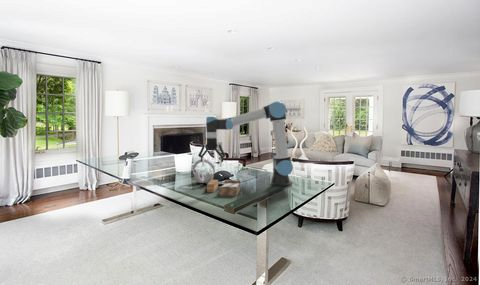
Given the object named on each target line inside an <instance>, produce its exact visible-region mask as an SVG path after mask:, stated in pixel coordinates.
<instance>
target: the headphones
mask: <svg viewBox="0 0 480 285" xmlns="http://www.w3.org/2000/svg"><path fill="white" fill-rule="evenodd" d="M199 163H202V162H201V159H198V160H197V161H196V162H194V164H193V166H192V173H193V176H194V180H195V182H196V183H198V184H202V183H204V184H208V183H209V182H210V181H211V180H214V176H215V173H216V169H215V165H214V164H213V162H212V161H210V160H209V159H205V158H204V163H206V164H208V165H209V166H210V167H211V169H212V170H213V172H212V171H207V172H206V174H205V176H204V174H203V172H201V171H200V170H198V171H196V172H195V169H196V167H197V165H199Z"/></svg>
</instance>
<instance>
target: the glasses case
mask: <svg viewBox="0 0 480 285" xmlns="http://www.w3.org/2000/svg"><path fill="white" fill-rule="evenodd" d="M217 189H219V179H213V180H211V181H210V182H209V183H206V192H207V193H215V191H217Z"/></svg>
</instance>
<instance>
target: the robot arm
mask: <svg viewBox="0 0 480 285" xmlns="http://www.w3.org/2000/svg"><path fill="white" fill-rule="evenodd" d="M286 113H287V107H286V105H285V103H284V102H281V101H273V102H271V103H269V104H268V105H265V106H263V107H261V108H258V109H256V110H252V111H249V112H245V113H242V114H238V115H235V116H231V117H228V118H224V119H223V118H222V119H219V118H217V116H207V117H206V120H205V126H206V127H205V128H206V129H205V130H206V135H205V136H206V144H205V143H203V144H202V145H201V149H200V151H199V153H198V155H197V156H198V157H199V158H200V160H201V162H200V163H202V164H201V166H202V167H204V166H205V162H204V159H205V157H204V156H205V155H206V154H207V153H208V152H209V151H215V152H216V153H217V155H219V157H220V158H219V161H220V162H219V164H220V167H221V168H222V167H223V163H224V158H225V157H226V156H227V155H226V153H225V151H224V149H223V147H222V143H220V144H218V139H217V138H218V137H217V136H218V133H217V132H218V130H221V131H222V130H223V131H224V130H226V131H228V130H233V129H234V128H233V127H237V126H241V125H246V124H248V123H251V122H255V121H259V120H262V119H265V120H267V119H269V121H270V122H271V123H272V130H273V137H274V138H273V139H274V147H275V154H276V155H273V157H272V171H273V172H272V173H273V174H272V176H271V180H270V184H271V186H272V185H273V186H276V187H288V186H289V185H291V181H290V177H289V175H290V174H291V173H292V172H293V170H294V166H293V163H292V158H291V155H290V154H289V149H288V144H287V135H286V134H287V132H286V126H285V121H286V120H287V116H286ZM205 148H206V149H205ZM204 149H205V150H204Z"/></svg>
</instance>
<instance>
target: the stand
mask: <svg viewBox="0 0 480 285" xmlns="http://www.w3.org/2000/svg"><path fill="white" fill-rule="evenodd" d="M240 191H241V180H239V179H238V180H237V179H236V180H235V179H234V180H233V179H225V180H224V182H223V184H222V185H220V186H219V185H218V193H219V194H218V196H228V197H229V196H233V197H234V196H237V195H238V194H239V192H240Z"/></svg>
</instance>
